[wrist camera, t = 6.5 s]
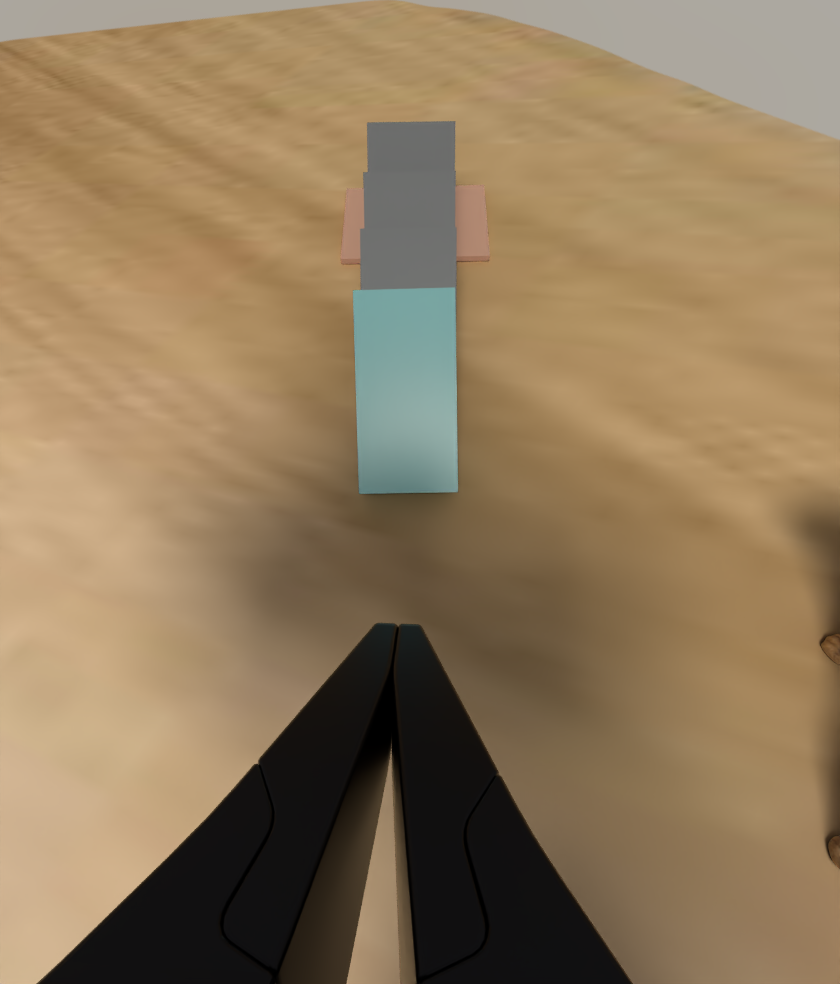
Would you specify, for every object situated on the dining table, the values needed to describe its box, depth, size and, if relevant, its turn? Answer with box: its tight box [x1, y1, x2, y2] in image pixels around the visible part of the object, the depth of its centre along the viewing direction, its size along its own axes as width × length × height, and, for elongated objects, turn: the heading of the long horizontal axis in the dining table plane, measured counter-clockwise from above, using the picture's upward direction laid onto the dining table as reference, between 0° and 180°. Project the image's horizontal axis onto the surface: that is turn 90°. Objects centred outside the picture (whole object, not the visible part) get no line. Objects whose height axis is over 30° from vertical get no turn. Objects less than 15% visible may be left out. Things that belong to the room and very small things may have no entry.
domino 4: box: [353, 287, 458, 494], centre depth 23 cm, size 2×5×10 cm
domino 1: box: [367, 121, 455, 172], centre depth 27 cm, size 2×5×10 cm
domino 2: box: [363, 171, 456, 229], centre depth 26 cm, size 2×5×10 cm
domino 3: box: [360, 227, 457, 310], centre depth 24 cm, size 2×5×10 cm
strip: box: [341, 185, 490, 264], centre depth 31 cm, size 7×10×1 cm
